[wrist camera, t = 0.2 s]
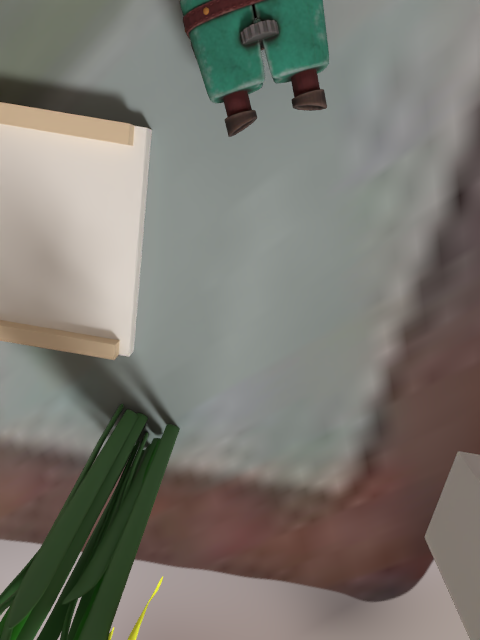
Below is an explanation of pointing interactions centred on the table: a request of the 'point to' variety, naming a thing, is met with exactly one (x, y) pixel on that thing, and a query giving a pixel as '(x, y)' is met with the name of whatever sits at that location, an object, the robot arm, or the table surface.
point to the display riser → (71, 230)
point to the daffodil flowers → (91, 541)
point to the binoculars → (257, 51)
